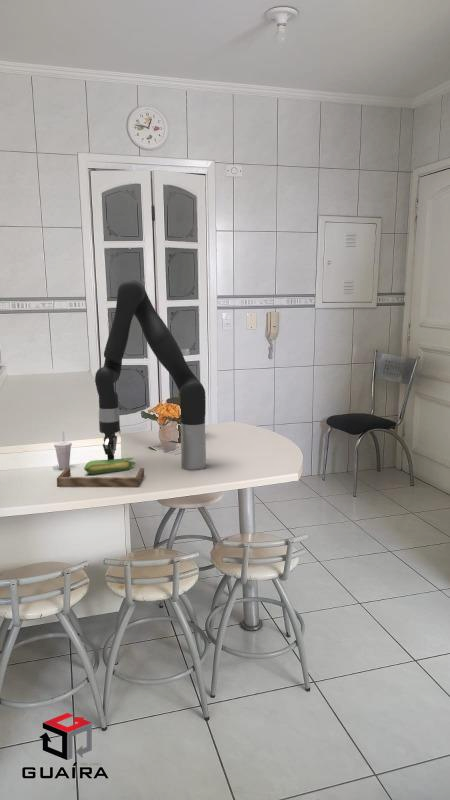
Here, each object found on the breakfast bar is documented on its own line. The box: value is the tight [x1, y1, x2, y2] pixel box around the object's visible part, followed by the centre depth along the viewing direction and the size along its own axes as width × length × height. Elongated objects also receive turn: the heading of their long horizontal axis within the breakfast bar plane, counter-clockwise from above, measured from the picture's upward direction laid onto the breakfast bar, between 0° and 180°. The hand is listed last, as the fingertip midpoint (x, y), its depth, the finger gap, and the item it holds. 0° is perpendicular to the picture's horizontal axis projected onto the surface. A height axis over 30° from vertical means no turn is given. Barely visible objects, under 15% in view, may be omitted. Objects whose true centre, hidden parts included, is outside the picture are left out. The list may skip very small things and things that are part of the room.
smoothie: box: [53, 431, 73, 470], centre depth 211 cm, size 6×6×14 cm
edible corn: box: [83, 457, 137, 475], centre depth 208 cm, size 5×20×5 cm
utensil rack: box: [56, 467, 145, 488], centre depth 196 cm, size 28×12×3 cm, turn 89°
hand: (111, 463), depth 212 cm, fingers closed
